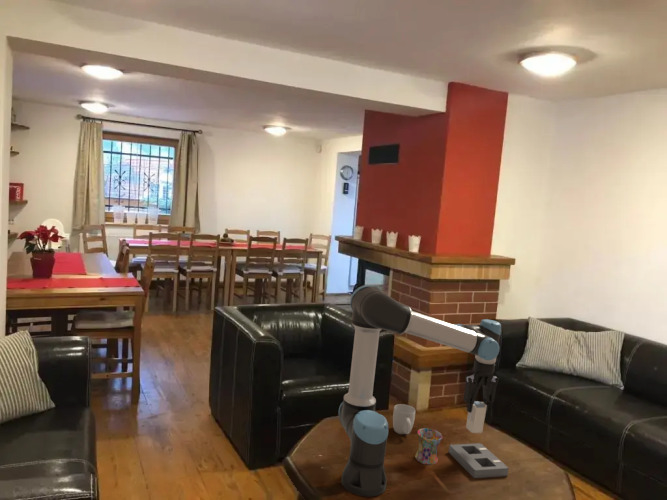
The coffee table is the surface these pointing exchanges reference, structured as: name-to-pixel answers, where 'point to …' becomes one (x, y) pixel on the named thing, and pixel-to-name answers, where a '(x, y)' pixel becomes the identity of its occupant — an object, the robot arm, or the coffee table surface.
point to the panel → (478, 460)
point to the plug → (477, 418)
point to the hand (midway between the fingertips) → (475, 419)
